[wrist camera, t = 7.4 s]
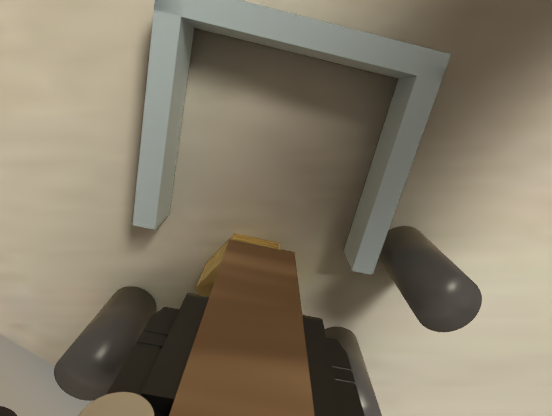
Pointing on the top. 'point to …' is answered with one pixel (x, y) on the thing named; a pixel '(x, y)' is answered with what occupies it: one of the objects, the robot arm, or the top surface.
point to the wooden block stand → (249, 341)
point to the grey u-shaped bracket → (303, 40)
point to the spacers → (408, 278)
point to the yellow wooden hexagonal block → (214, 263)
